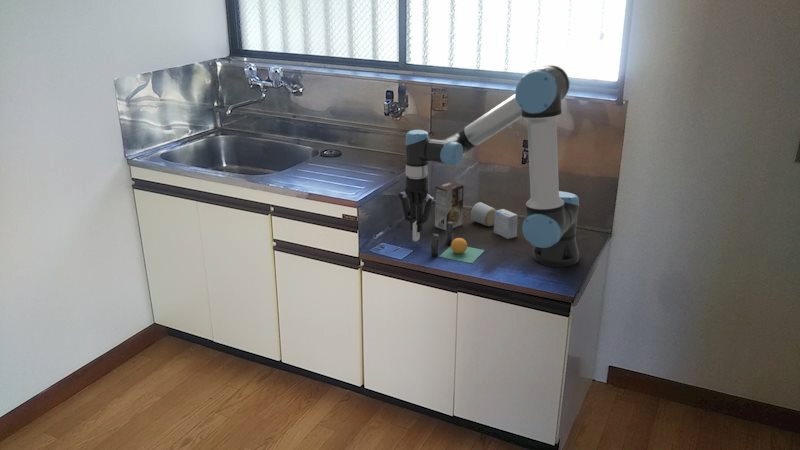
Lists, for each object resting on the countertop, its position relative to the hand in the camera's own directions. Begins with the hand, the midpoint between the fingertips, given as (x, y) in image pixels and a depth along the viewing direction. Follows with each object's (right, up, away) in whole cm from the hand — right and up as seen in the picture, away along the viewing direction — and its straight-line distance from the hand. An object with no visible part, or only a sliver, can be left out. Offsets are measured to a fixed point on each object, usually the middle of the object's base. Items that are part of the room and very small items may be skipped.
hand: (416, 239), depth 240 cm
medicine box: (+33, +1, +9) cm, 34 cm away
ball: (+14, -2, -7) cm, 16 cm away
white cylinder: (+27, +6, +21) cm, 35 cm away
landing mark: (+16, -5, -7) cm, 18 cm away
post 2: (+12, -1, +2) cm, 12 cm away
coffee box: (+13, +5, +18) cm, 22 cm away
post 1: (+6, -6, -9) cm, 12 cm away
